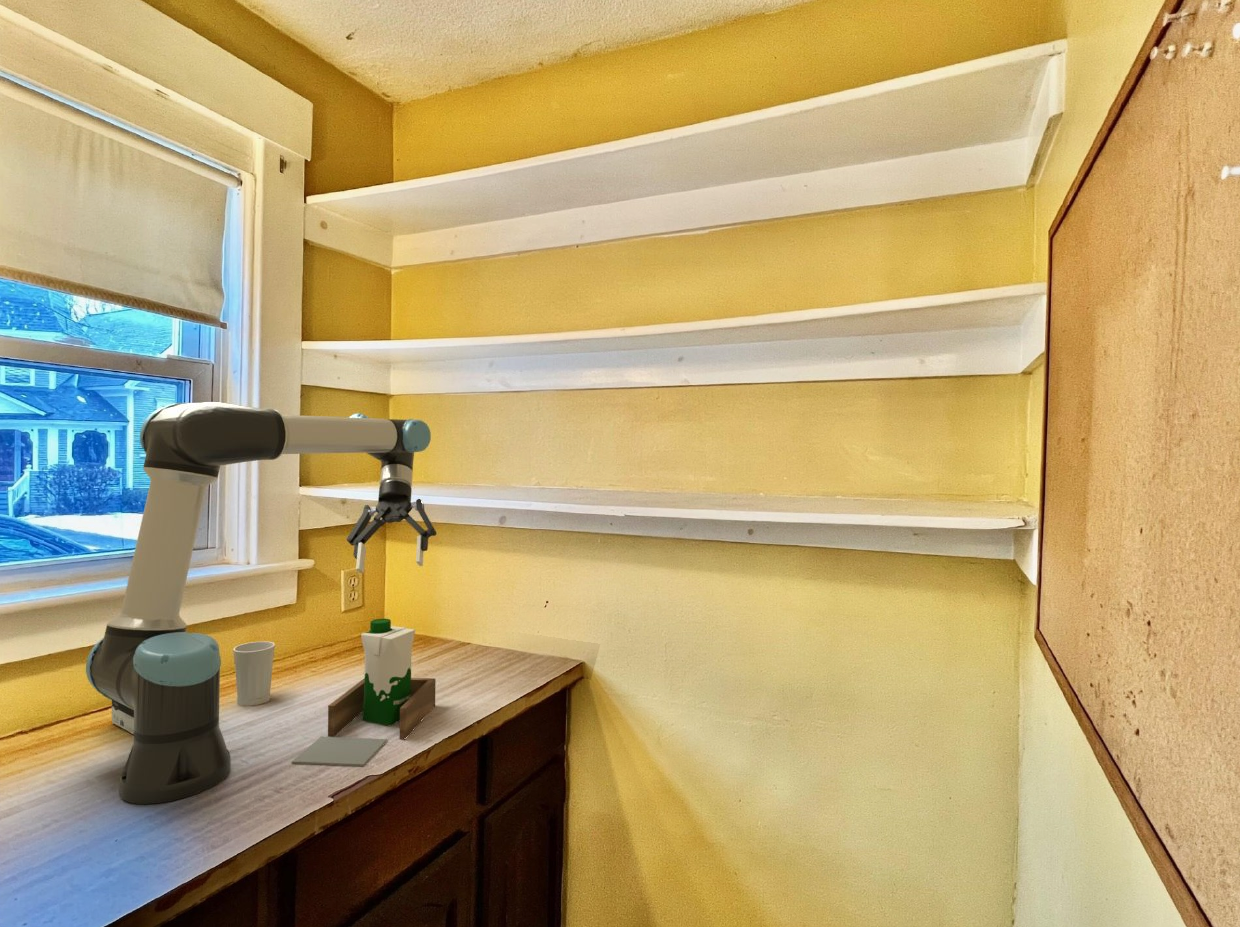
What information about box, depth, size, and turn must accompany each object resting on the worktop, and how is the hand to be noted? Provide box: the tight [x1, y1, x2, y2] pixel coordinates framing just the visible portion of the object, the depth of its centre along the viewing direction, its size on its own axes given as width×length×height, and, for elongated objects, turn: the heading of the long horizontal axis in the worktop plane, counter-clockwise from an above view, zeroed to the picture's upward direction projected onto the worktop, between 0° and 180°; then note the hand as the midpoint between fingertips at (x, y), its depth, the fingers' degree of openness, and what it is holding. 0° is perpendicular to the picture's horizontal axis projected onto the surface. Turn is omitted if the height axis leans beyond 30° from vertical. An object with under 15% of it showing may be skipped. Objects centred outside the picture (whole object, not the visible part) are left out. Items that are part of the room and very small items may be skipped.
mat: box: [290, 736, 388, 767], centre depth 116 cm, size 13×10×1 cm
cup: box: [232, 640, 276, 707], centre depth 139 cm, size 8×8×12 cm
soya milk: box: [360, 618, 416, 726], centre depth 131 cm, size 9×9×20 cm
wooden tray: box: [327, 677, 436, 740], centre depth 130 cm, size 15×17×6 cm
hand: (389, 567), depth 144 cm, fingers open, 13 cm apart
